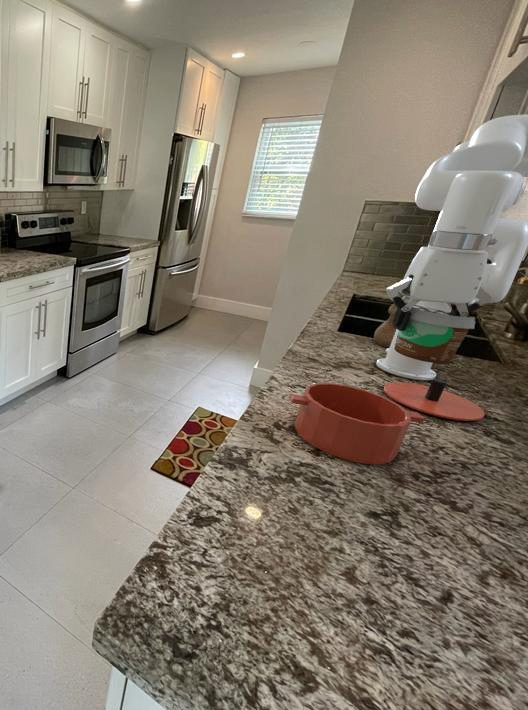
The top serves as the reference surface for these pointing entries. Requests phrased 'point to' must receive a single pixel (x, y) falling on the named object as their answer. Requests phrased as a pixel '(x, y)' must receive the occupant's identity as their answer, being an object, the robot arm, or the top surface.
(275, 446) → the top surface
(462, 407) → the lid
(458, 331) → the food container
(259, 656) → the top surface
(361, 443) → the pot
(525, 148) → the robot arm
